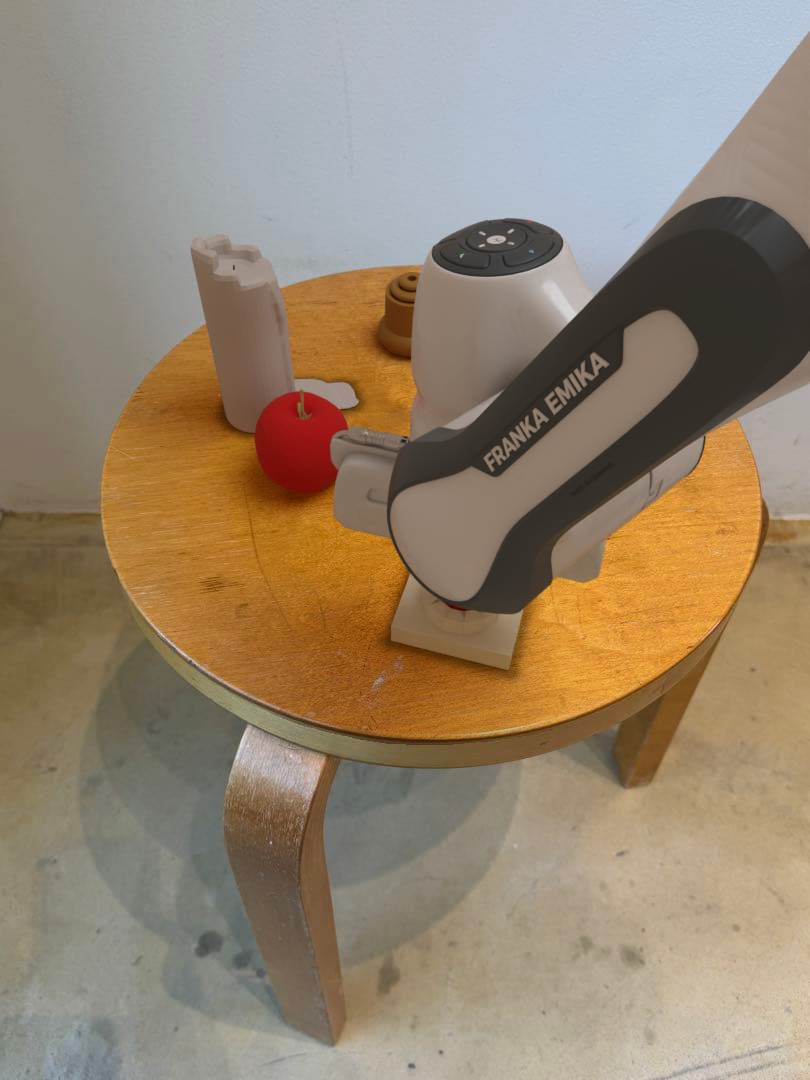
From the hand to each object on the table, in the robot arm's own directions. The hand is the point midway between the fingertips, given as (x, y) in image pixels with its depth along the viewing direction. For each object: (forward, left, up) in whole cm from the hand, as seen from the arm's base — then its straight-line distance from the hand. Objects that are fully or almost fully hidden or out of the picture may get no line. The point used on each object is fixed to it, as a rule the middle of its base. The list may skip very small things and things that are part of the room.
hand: (462, 576), depth 68 cm
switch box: (0, 0, -6) cm, 6 cm away
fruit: (+18, -12, -6) cm, 23 cm away
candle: (+23, -21, -6) cm, 32 cm away
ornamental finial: (+14, -35, -6) cm, 38 cm away
